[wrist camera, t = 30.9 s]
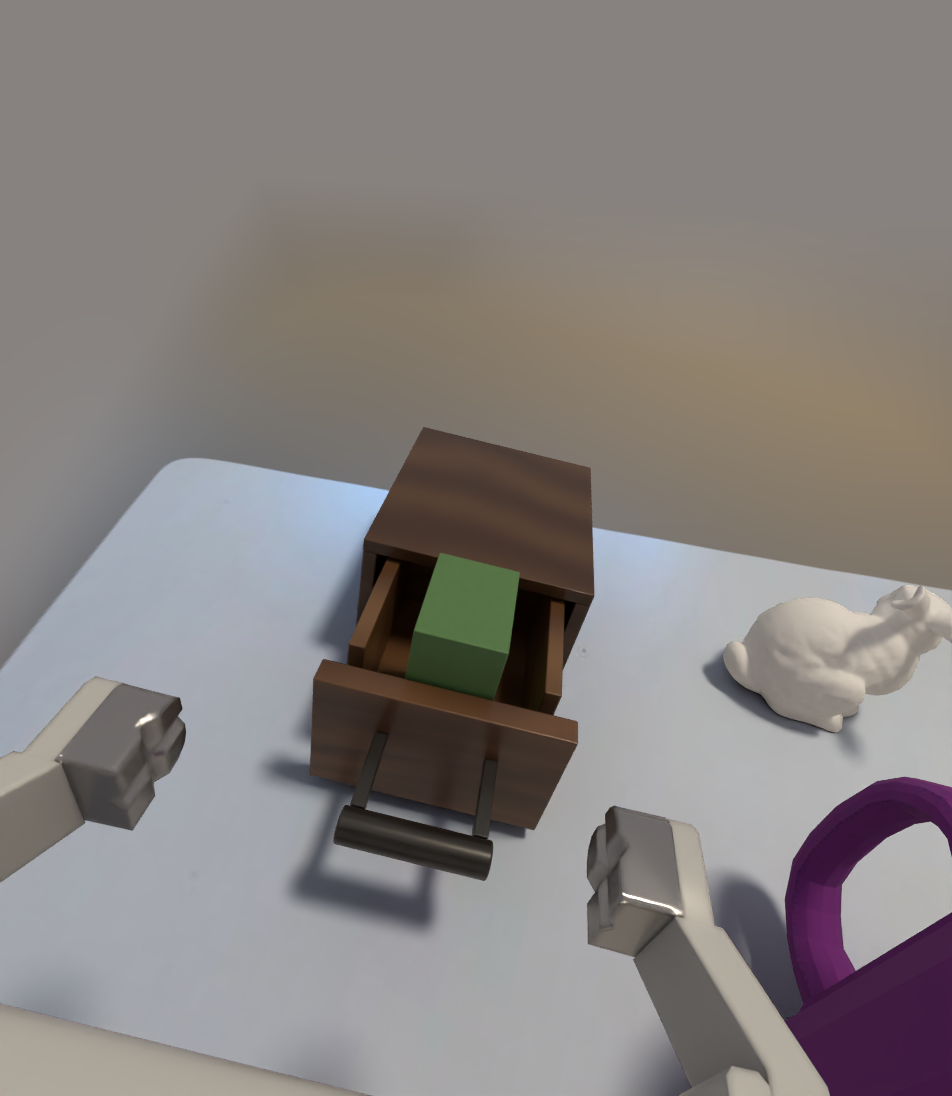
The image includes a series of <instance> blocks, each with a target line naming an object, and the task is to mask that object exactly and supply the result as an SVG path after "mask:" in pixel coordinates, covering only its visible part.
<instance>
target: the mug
mask: <svg viewBox="0 0 952 1096" xmlns="http://www.w3.org/2000/svg"><path fill="white" fill-rule="evenodd" d="M930 821H931V822H932V823H934V824H935V825H937V826H938V827H939V828H940V830H941V831H942V832H943V834H944V835H945V836H946V838H947V839H948V843H949V847H950V851H951V855H952V788H951V787H948V786H944V785H940V784H936V783H933V782H929V781H925V780H921V779H916V778H909V777H900V778H894V779H888V780H882V781H877V782H875V783H873V784H872V785H870V786H868V787H867V788H865V789H863V790H862V791H860V792H859V793H857V794H855V795H854V796H852V797H850V798H849V799H847V800H845V801H844V802H842V803H841V804H839V805H838V806H837V807H835V808H834V809H833V810H832V811H831V812H830V813H829V814H828V815H827V816H826V817H825V818H824V819H823V820H822V821H821V823H820V824H819V825H818V826H817V827H816V828H815V829H814V830H813V831H812V832H811V833H810V834H809V836H808V837H807V839H806V840H805V842H804V843H803V845H802V846H801V848H800V850H799V851H798V853H797V854H796V856H795V857H794V859H793V862H792V867H791V872H790V876H789V881H788V886H787V891H786V896H785V911H786V930H787V940H788V945H789V951H790V956H791V961H792V967H793V972H794V975H795V978H796V981H797V984H798V988H799V991H800V994H801V997H802V1000H803V1003H804V1004H803V1005H802V1007H801V1009H800V1011H799V1013H798V1014H796V1015H794V1016H793V1017H791V1018H789V1019H788V1020H786V1021H785V1023H786V1025H787V1026H788V1028H789V1029H790V1031H791V1032H792V1034H793V1035H794V1037H795V1038H796V1040H797V1041H798V1043H799V1044H800V1046H801V1047H802V1049H803V1050H804V1052H805V1053H806V1055H807V1056H808V1058H809V1060H810V1061H811V1063H812V1064H813V1066H814V1067H815V1069H816V1070H817V1072H818V1073H819V1075H820V1076H821V1078H822V1079H823V1081H824V1082H825V1084H826V1085H827V1087H828V1090H829V1094H830V1096H952V913H950V914H948V915H947V916H945V917H943V918H942V919H940V920H939V921H937V922H935V923H934V924H932V925H930V926H929V927H927V928H925V929H924V930H922V931H921V932H919V933H917V934H916V935H914V936H912V937H911V938H909V939H908V940H906V941H904V942H903V943H901V944H899V945H898V946H896V947H894V948H893V949H891V950H890V951H888V952H886V953H885V954H883V955H881V956H880V957H878V958H877V959H875V960H873V961H872V962H870V963H868V964H867V965H865V966H863V967H862V968H860V969H859V970H857V971H855V969H854V967H853V965H852V963H851V961H850V960H849V958H848V956H847V954H846V952H845V950H844V949H843V937H842V926H841V892H842V884H843V882H844V881H845V879H846V878H847V876H848V875H849V874H850V872H851V871H852V869H853V868H854V867H855V865H856V864H857V862H858V861H860V860H861V859H862V858H863V857H864V856H866V855H867V854H868V853H869V852H870V851H871V850H873V849H874V848H875V847H876V846H877V845H879V844H880V843H881V842H882V841H883V840H884V839H886V838H887V837H889V836H891V835H893V834H895V833H897V832H899V831H901V830H903V829H905V828H907V827H910V826H912V825H914V824H918V823H924V822H930Z"/></svg>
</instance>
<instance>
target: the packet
mask: <svg viewBox="0 0 952 1096" xmlns="http://www.w3.org/2000/svg"><path fill="white" fill-rule="evenodd" d="M519 576H520V572H517V571H513V570H509V569H505V568H501V567H497V566H492V565H488V564H484V563H480V562H476V561H472V560H468V559H464V558H460V557H456V556H452V555H448V554H444V553H440V554H439V557H438V559H437V562H436V565H435V568H434V571H433V574H432V577H431V580H430V583H429V586H428V589H427V592H426V595H425V598H424V601H423V604H422V607H421V610H420V613H419V616H418V619H417V622H416V625H415V628H414V632H413V637H412V643H411V648H410V654H409V659H408V665H407V670H406V676H405V679H407V680H411V681H415V682H419V683H423V684H427V685H431V686H435V687H439V688H443V689H448V690H452V691H456V692H460V693H464V694H468V695H472V696H476V697H480V698H484V699H488V700H492V701H493V700H494V697H495V694H496V691H497V688H498V685H499V682H500V679H501V676H502V673H503V670H504V667H505V664H506V661H507V658H508V655H509V649H510V641H511V634H512V627H513V620H514V612H515V605H516V598H517V591H518V583H519Z"/></svg>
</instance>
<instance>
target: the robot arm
mask: <svg viewBox="0 0 952 1096" xmlns="http://www.w3.org/2000/svg"><path fill="white" fill-rule="evenodd" d="M181 710H182V705H181V701H180V698H179V697H175V696H171V695H167V694H163V693H159V692H155V691H151V690H147V689H143V688H139V687H135V686H131V685H128V684H125V683H121V682H117V681H113V680H109V679H104V678H100V677H94V678H92V679H91V680H89V681H88V682H86V683H85V684H83V686H82V687H81V688H80V689H79V690H78V691H77V692H76V693H75V694H74V696H73V697H72V698H71V699H70V700H69V701H68V702H67V703H66V704H65V706H64V707H63V708H62V709H61V710H60V711H59V712H58V713H57V715H56V716H55V717H54V718H53V719H52V720H51V721H50V722H49V723H48V725H47V726H46V727H45V728H44V729H43V730H42V731H41V732H40V733H39V735H38V736H37V737H36V738H35V739H34V740H33V741H32V742H31V743H30V745H29V746H28V747H27V748H26V749H25V750H24V751H23V752H22V753H20V752H15V751H13V752H11V753H9V754H7V755H5V756H3V757H1V758H0V882H2V881H3V880H5V879H6V878H7V877H9V876H10V875H12V874H13V873H15V872H16V871H18V870H19V869H20V868H22V867H23V866H25V865H26V864H28V863H29V862H30V861H32V860H33V859H35V858H36V857H38V856H39V855H40V854H42V853H43V852H45V851H46V850H48V849H49V848H50V847H52V846H53V845H55V844H56V843H58V842H59V841H60V840H62V839H63V838H65V837H66V836H68V835H69V834H70V833H72V832H73V831H75V830H76V829H78V828H79V827H80V826H82V825H83V824H85V821H84V820H87V821H91V822H96V823H100V824H105V825H109V826H114V827H119V828H123V829H128V830H132V831H133V829H134V828H135V826H136V825H137V823H138V822H139V820H140V818H141V817H142V815H143V814H144V812H145V811H146V809H147V808H148V806H149V804H150V803H151V801H152V800H153V798H154V797H155V789H154V782H155V781H157V780H159V779H160V778H162V777H164V776H166V775H167V774H169V773H170V771H171V770H172V768H173V767H174V765H175V763H176V762H177V760H178V758H179V756H180V753H181V751H182V748H183V746H184V743H185V736H186V728H185V723H184V722H183V721H182V720H181V719H180V718H179V717H178V715H179V713H180V712H181ZM587 878H588V880H589V882H590V884H591V886H592V887H593V889H594V891H595V893H594V895H593V896H592V898H591V899H590V900H589V902H588V903H587V922H588V944H589V945H593V946H597V947H600V948H604V949H607V950H611V951H614V952H618V953H622V954H625V955H629V956H632V957H635V958H634V959H633V960H634V963H635V965H636V967H637V969H638V971H639V973H640V976H641V978H642V980H643V982H644V984H645V987H646V989H647V991H648V993H649V995H650V998H651V1000H652V1002H653V1004H654V1006H655V1008H656V1011H657V1013H658V1015H659V1017H660V1019H661V1022H662V1024H663V1026H664V1028H665V1030H666V1033H667V1035H668V1037H669V1039H670V1041H671V1043H672V1046H673V1048H674V1050H675V1052H676V1054H677V1057H678V1059H679V1061H680V1063H681V1065H682V1068H683V1070H684V1072H685V1074H686V1076H687V1078H688V1081H689V1083H690V1085H691V1087H692V1088H691V1089H689V1090H687V1091H686V1092H684V1093H682V1094H680V1095H678V1096H830V1094H829V1090H828V1087H827V1085H826V1084H825V1082H824V1081H823V1079H822V1078H821V1076H820V1075H819V1073H818V1072H817V1070H816V1069H815V1067H814V1066H813V1064H812V1063H811V1061H810V1060H809V1058H808V1056H807V1055H806V1053H805V1052H804V1050H803V1049H802V1047H801V1046H800V1044H799V1043H798V1041H797V1040H796V1038H795V1037H794V1035H793V1034H792V1032H791V1031H790V1029H789V1028H788V1026H787V1025H786V1023H785V1021H784V1020H783V1018H782V1017H781V1015H780V1014H779V1012H778V1011H777V1009H776V1008H775V1006H774V1005H773V1003H772V1002H771V1000H770V999H769V997H768V996H767V994H766V993H765V991H764V990H763V988H762V986H761V985H760V983H759V982H758V980H757V979H756V977H755V976H754V974H753V973H752V971H751V970H750V968H749V967H748V965H747V964H746V962H745V961H744V959H743V958H742V956H741V955H740V953H739V952H738V950H737V948H736V947H735V945H734V944H733V942H732V941H731V939H730V938H729V936H728V935H727V933H726V932H725V930H724V929H723V928H721V927H717V926H715V923H714V917H713V912H712V906H711V900H710V895H709V889H708V883H707V878H706V872H705V866H704V861H703V855H702V849H701V843H700V838H699V833H698V832H697V830H696V828H695V827H694V826H693V825H691V824H687V823H683V822H679V821H675V820H670V819H666V818H665V817H660V816H656V815H651V814H647V813H643V812H638V811H634V810H630V809H625V808H621V807H617V806H613V807H610V808H609V810H608V811H607V813H606V814H605V824H604V825H601V826H598V827H597V828H596V830H595V832H594V833H593V835H592V837H591V841H590V845H589V849H588V857H587ZM0 1096H371V1095H367V1094H363V1093H359V1092H355V1091H351V1090H347V1089H343V1088H339V1087H335V1086H331V1085H327V1084H323V1083H319V1082H315V1081H311V1080H307V1079H303V1078H299V1077H295V1076H291V1075H287V1074H282V1073H278V1072H274V1071H270V1070H266V1069H262V1068H258V1067H254V1066H250V1065H246V1064H242V1063H238V1062H234V1061H230V1060H226V1059H222V1058H218V1057H214V1056H210V1055H206V1054H202V1053H198V1052H194V1051H190V1050H186V1049H182V1048H178V1047H174V1046H170V1045H166V1044H162V1043H158V1042H154V1041H150V1040H146V1039H142V1038H137V1037H133V1036H129V1035H125V1034H121V1033H117V1032H113V1031H109V1030H105V1029H101V1028H97V1027H93V1026H89V1025H85V1024H81V1023H77V1022H73V1021H69V1020H65V1019H61V1018H57V1017H53V1016H49V1015H45V1014H41V1013H37V1012H33V1011H29V1010H25V1009H21V1008H17V1007H13V1006H9V1005H5V1004H1V1003H0Z"/></svg>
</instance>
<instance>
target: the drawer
mask: <svg viewBox="0 0 952 1096" xmlns="http://www.w3.org/2000/svg"><path fill="white" fill-rule="evenodd" d="M433 571H434V568H432V567H428V566H424V565H420V564H416V563H412V562H408V561H404V560H400V559H396V558H392V557H387V560H386V562H385V564H384V566H383V568H382V571H381V573H380V575H379V577H378V580H377V582H376V584H375V586H374V588H373V591H372V593H371V595H370V597H369V599H368V602H367V604H366V606H365V608H364V611H363V613H362V615H361V617H360V619H359V622H358V624H357V626H356V628H355V630H354V633H353V635H352V637H351V639H350V642H349V644H348V655H347V665H346V664H342V663H338V662H334V661H330V660H326V659H323V660H322V662H321V664H320V666H319V668H318V670H317V672H316V675H315V677H314V679H313V703H312V729H311V756H310V775H312V776H316V777H320V778H324V779H328V780H333V781H337V782H341V783H345V784H349V785H353V786H356V789H355V792H354V794H353V797H352V800H351V803H350V806H349V805H345V806H344V807H343V808H342V811H341V813H340V816H339V819H338V822H337V825H336V829H335V833H334V838H333V843H334V844H337V845H341V846H345V847H349V848H353V849H357V850H361V851H365V852H369V853H373V854H377V855H381V856H385V857H389V858H393V859H398V860H402V861H406V862H410V863H414V864H418V865H422V866H426V867H430V868H434V869H438V870H442V871H446V872H450V873H454V874H458V875H462V876H466V877H470V878H474V879H479V880H483V881H484V880H486V879H487V877H488V874H489V870H490V866H491V861H492V855H493V842H492V841H491V840H487V839H488V835H489V827H490V819H491V820H495V821H499V822H503V823H507V824H511V825H515V826H519V827H523V828H527V829H531V830H535V828H536V826H537V824H538V822H539V820H540V818H541V816H542V814H543V812H544V810H545V808H546V806H547V804H548V802H549V800H550V798H551V796H552V794H553V792H554V790H555V788H556V786H557V784H558V782H559V780H560V778H561V776H562V774H563V772H564V770H565V768H566V766H567V764H568V762H569V760H570V758H571V756H572V754H573V752H574V750H575V748H576V746H577V744H578V722H577V721H574V720H570V719H565V718H561V717H557V716H553V715H554V713H555V710H556V708H557V706H558V704H559V701H560V699H561V697H562V672H563V641H564V610H565V600H563V599H559V598H555V597H551V596H546V595H542V594H538V593H534V592H530V591H526V590H522V589H518V591H517V598H516V605H515V612H514V620H513V627H512V634H511V641H510V649H509V655H508V658H507V661H506V664H505V667H504V670H503V673H502V676H501V679H500V682H499V685H498V688H497V691H496V694H495V697H494V700H493V701H492V700H488V699H484V698H480V697H476V696H472V695H468V694H464V693H460V692H456V691H452V690H448V689H443V688H439V687H435V686H431V685H427V684H423V683H419V682H415V681H411V680H407V679H405V676H406V670H407V665H408V659H409V654H410V648H411V643H412V637H413V632H414V628H415V625H416V622H417V619H418V616H419V613H420V610H421V607H422V604H423V601H424V598H425V595H426V592H427V589H428V586H429V583H430V580H431V577H432V574H433ZM371 790H373V791H377V792H381V793H385V794H389V795H393V796H397V797H401V798H406V799H410V800H414V801H418V802H422V803H426V804H430V805H434V806H438V807H442V808H446V809H450V810H454V811H458V812H462V813H466V814H470V815H474V816H475V817H474V824H473V830H472V836H470V835H466V834H462V833H458V832H454V831H450V830H446V829H442V828H438V827H434V826H430V825H426V824H422V823H418V822H414V821H409V820H405V819H401V818H397V817H393V816H389V815H385V814H381V813H377V812H373V811H369V810H365V809H366V806H367V803H368V800H369V796H370V793H371Z"/></svg>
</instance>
